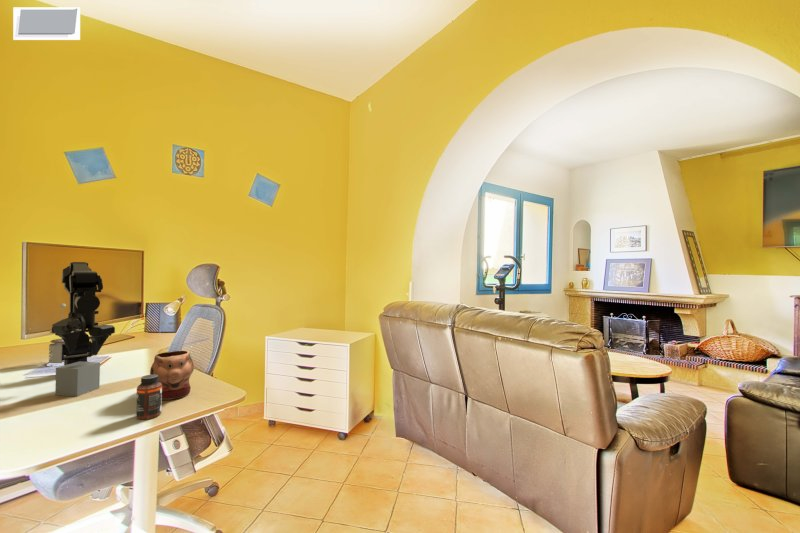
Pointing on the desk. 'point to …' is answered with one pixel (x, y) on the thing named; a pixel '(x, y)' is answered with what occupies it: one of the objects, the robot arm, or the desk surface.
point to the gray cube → (77, 378)
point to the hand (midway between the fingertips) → (83, 354)
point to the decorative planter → (173, 373)
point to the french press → (56, 347)
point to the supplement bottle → (149, 397)
